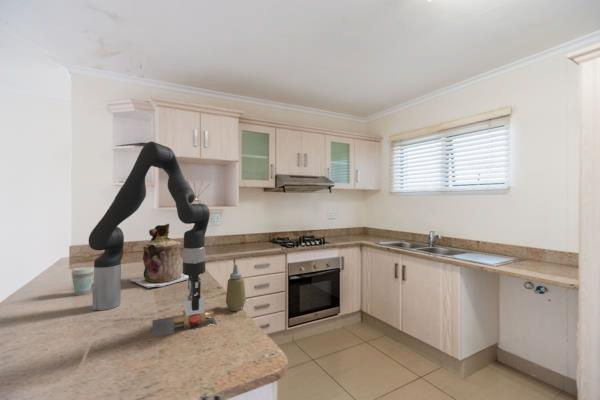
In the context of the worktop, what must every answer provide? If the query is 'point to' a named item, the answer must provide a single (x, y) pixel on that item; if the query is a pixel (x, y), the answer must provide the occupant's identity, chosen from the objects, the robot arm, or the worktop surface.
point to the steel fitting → (189, 305)
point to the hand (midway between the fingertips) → (194, 306)
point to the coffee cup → (82, 280)
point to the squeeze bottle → (235, 291)
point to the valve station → (182, 323)
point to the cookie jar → (161, 260)
